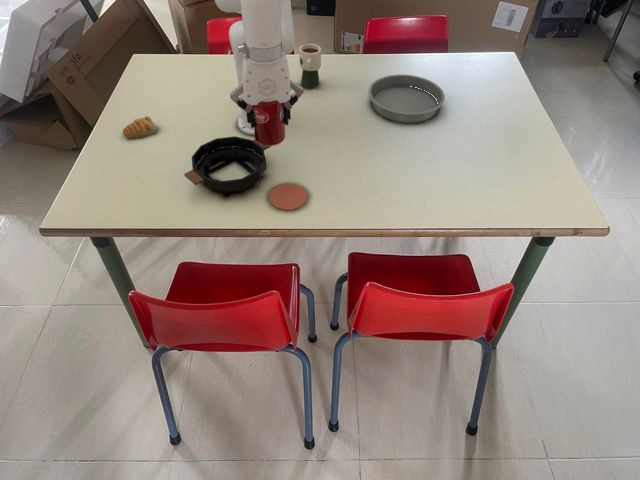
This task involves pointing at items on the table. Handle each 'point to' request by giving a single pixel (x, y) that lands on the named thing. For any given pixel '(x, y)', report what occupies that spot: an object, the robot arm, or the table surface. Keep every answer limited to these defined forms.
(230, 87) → the table surface
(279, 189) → the coaster
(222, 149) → the wok
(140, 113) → the table surface
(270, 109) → the soda can
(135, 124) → the pastry
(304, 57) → the character mug
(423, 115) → the cake pan
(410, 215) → the table surface
